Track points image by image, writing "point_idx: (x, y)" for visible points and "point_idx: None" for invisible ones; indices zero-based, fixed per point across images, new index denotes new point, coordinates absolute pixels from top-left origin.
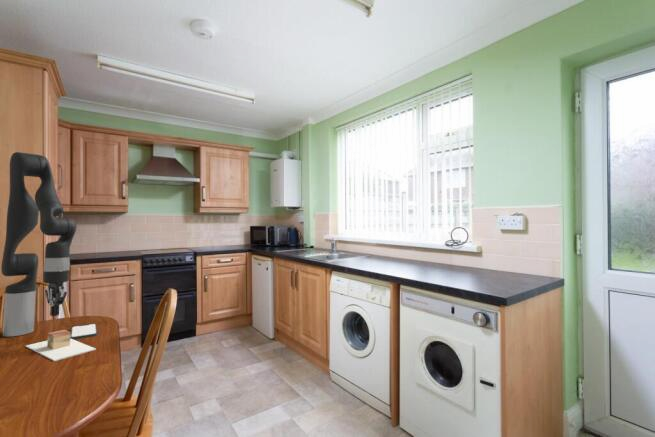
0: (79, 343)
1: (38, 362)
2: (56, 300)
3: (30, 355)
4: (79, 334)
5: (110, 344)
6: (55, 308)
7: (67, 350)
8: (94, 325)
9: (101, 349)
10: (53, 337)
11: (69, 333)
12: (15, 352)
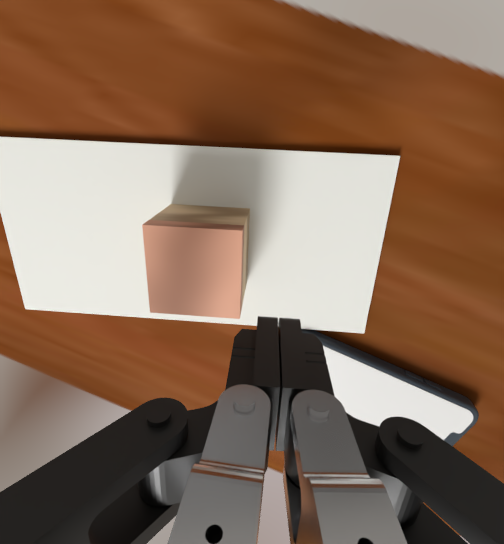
0: None
1: (30, 83)
2: (35, 472)
3: (194, 106)
4: None
5: (61, 366)
6: (228, 386)
7: (98, 235)
8: None
9: (17, 319)
10: (149, 221)
11: (152, 303)
12: (335, 77)
